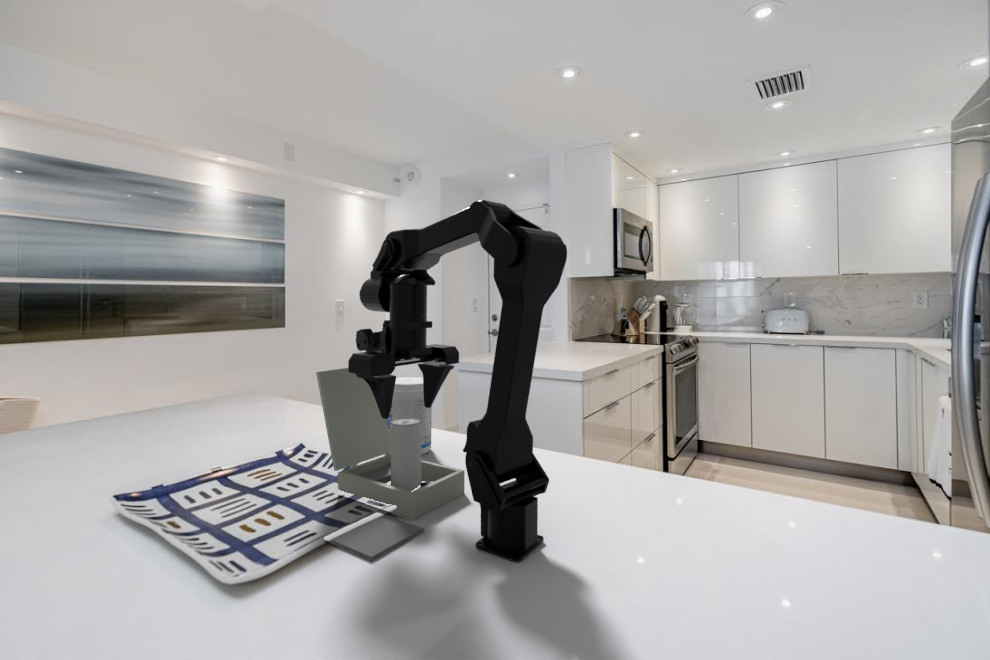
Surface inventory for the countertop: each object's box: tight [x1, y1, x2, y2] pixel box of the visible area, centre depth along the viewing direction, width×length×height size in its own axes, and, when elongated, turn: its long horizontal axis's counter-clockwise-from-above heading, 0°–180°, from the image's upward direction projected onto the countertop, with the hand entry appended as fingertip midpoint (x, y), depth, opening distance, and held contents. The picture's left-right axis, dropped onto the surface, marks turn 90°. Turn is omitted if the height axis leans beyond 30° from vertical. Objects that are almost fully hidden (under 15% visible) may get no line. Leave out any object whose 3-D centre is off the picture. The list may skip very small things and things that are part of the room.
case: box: [337, 454, 465, 521], centre depth 78 cm, size 16×12×4 cm
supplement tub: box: [386, 376, 433, 456], centre depth 100 cm, size 10×10×15 cm
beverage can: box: [390, 418, 422, 491], centre depth 77 cm, size 5×5×12 cm
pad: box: [328, 514, 424, 562], centre depth 64 cm, size 9×9×1 cm
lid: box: [316, 367, 391, 472], centre depth 83 cm, size 16×12×1 cm
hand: (407, 412), depth 77 cm, fingers open, 9 cm apart
